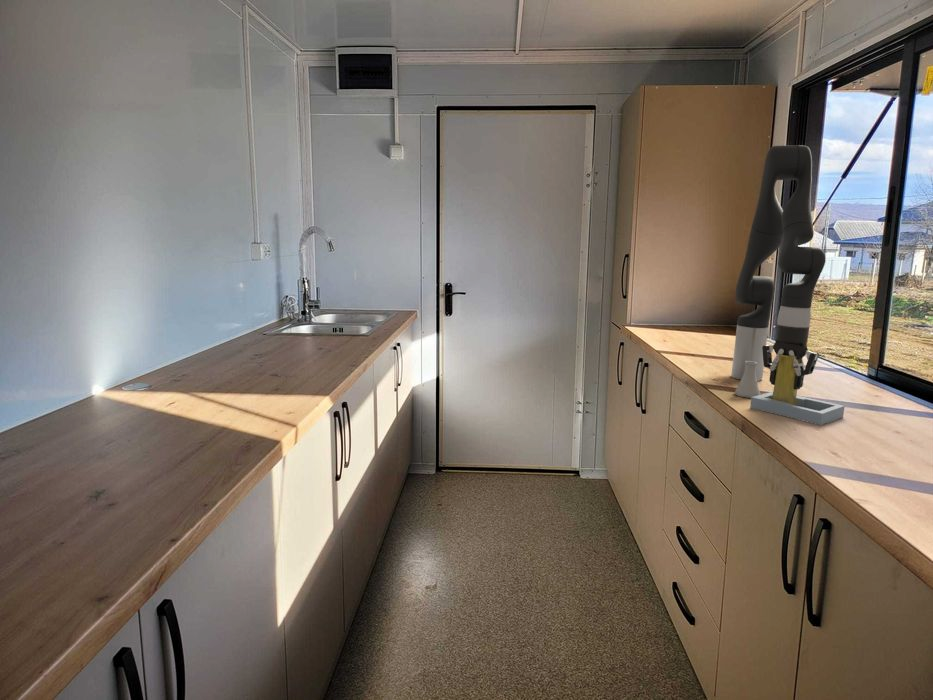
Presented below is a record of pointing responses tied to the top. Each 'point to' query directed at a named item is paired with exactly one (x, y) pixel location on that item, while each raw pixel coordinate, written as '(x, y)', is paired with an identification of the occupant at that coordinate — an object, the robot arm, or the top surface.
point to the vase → (785, 380)
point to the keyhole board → (799, 408)
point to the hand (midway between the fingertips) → (785, 386)
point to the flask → (748, 382)
